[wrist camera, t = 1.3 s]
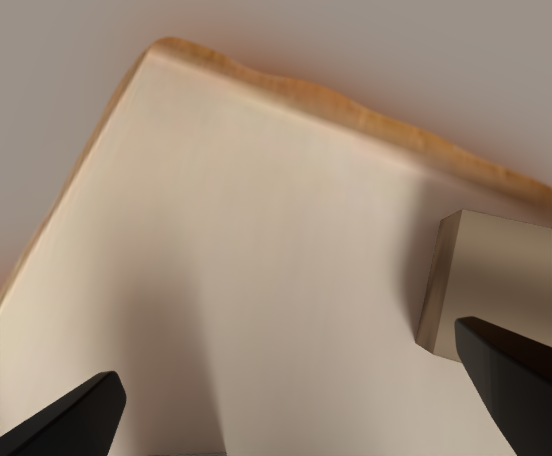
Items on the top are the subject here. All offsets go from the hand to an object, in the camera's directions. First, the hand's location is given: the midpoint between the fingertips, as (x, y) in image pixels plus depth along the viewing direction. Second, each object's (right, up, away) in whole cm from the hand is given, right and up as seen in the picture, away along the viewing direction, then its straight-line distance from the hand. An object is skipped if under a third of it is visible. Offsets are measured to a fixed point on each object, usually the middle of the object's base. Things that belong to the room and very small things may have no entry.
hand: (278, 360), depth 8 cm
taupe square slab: (+15, -1, +14) cm, 21 cm away
